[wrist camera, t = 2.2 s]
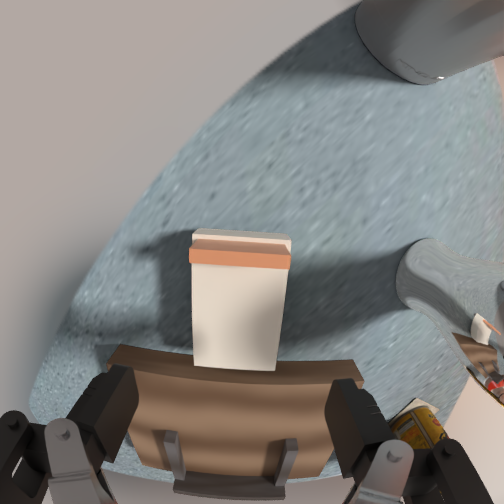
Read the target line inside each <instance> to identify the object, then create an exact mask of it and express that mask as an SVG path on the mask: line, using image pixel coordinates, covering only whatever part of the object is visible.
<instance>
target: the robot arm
mask: <svg viewBox="0 0 504 504" xmlns="http://www.w3.org/2000/svg"><path fill="white" fill-rule="evenodd" d="M355 25H356V28H357V31H358V34H359V35H360V37H361V39H362V41H363V43H364V44H365V45H366V47H367V48H368V49H369V51H370V52H371V53H372V54H373V55H374V56H375V57H376V58H377V60H378V61H379V62H380V63H382V64H383V65H384V66H385V67H386V68H388V69H389V70H390V71H392V72H393V73H395V74H396V75H398V76H399V77H401V78H403V79H406V80H408V81H410V82H413V83H417V84H423V85H429V84H433V83H436V82H438V81H441V80H443V79H445V78H447V77H450V76H452V75H454V74H457V73H459V72H462V71H465V70H467V69H469V68H472V67H474V66H477V65H479V64H482V63H485V62H487V61H490V60H493V59H495V58H498V57H501V56H504V0H363V1H362V2H361V4H360V5H359V7H358V8H357V10H356V14H355ZM138 404H139V392H138V388H137V384H136V379H135V374H134V370H133V368H132V367H131V366H126V365H121V364H116V363H115V364H113V365H112V366H111V368H110V369H109V371H108V372H107V373H103V372H102V373H101V374H99V375H98V376H96V377H94V378H93V379H92V381H91V382H90V383H89V385H88V386H87V388H86V389H85V391H84V392H83V395H81V396H80V398H79V399H78V401H77V402H76V403H75V405H74V406H73V408H72V409H71V411H70V412H69V414H68V415H67V417H66V418H58V419H54V420H52V421H51V422H49V423H48V424H47V425H41V424H35V423H29V421H28V419H27V418H26V416H25V415H24V414H23V413H22V412H19V411H14V410H13V411H9V412H6V413H5V414H4V415H3V416H2V417H1V418H0V504H42V501H43V499H44V496H45V494H46V491H47V489H48V487H49V489H50V493H51V497H52V500H53V503H54V504H118V503H117V501H116V499H115V497H114V495H113V493H112V491H111V488H110V486H109V484H108V482H107V480H106V477H105V475H104V472H103V470H102V468H101V465H102V463H103V461H107V462H110V463H114V461H115V458H116V456H117V453H118V451H119V449H120V446H121V444H122V442H123V439H124V437H125V435H126V432H127V430H128V428H129V425H130V423H131V421H132V418H133V416H134V414H135V412H136V409H137V407H138ZM324 415H325V420H326V423H327V427H328V430H329V433H330V436H331V440H332V443H333V446H334V449H335V453H336V456H337V459H338V462H339V466H340V469H341V472H342V476H343V478H349V477H353V478H354V481H355V483H354V484H353V486H352V487H351V489H350V491H349V493H348V494H347V496H346V498H345V500H344V501H343V503H342V504H403V502H400V498H401V496H403V499H404V502H405V504H494V503H493V501H492V499H491V497H490V495H489V493H488V491H487V489H486V488H485V486H484V484H483V482H482V480H481V479H480V477H479V475H478V473H477V471H476V469H475V468H474V466H473V464H472V463H471V461H470V459H469V457H468V455H467V454H466V452H465V450H464V449H463V447H462V446H461V444H460V443H459V442H457V441H456V440H454V439H450V438H445V439H441V440H439V441H438V442H437V443H436V444H435V445H434V447H433V448H427V449H412V448H411V446H410V445H409V444H407V443H406V442H404V441H401V440H396V438H395V437H394V435H393V433H392V431H391V429H390V427H389V425H388V424H387V422H386V420H385V418H384V416H383V414H381V411H380V409H379V407H378V406H377V403H376V401H375V400H374V398H373V396H372V395H371V394H370V393H368V392H367V391H366V390H365V389H358V387H357V385H356V383H355V381H354V380H353V379H352V378H347V379H335V380H333V382H332V385H331V388H330V391H329V395H328V398H327V401H326V404H325V409H324ZM21 457H22V461H21V462H20V464H19V466H18V468H17V470H16V472H15V474H14V476H13V478H12V472H13V470H14V469H15V467H16V465H17V463H18V461H19V459H20V458H21ZM438 488H439V489H438ZM439 490H440V491H439ZM440 492H441V493H440ZM442 497H443V498H442ZM443 499H444V500H443Z"/></svg>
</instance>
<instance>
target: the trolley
mask: <svg viewBox="0 0 504 504" xmlns="http://www.w3.org/2000/svg"><path fill="white" fill-rule="evenodd" d="M290 250H291V239H290V238H289V236H288V235H287V234H281V233H267V232H253V231H238V230H222V229H205V228H198V229H197V230H196V231H195V232H194V233H193V234H192V246H191V247H190V248H189V263H192V329H193V355H194V366H203V367H214V368H225V369H240V370H260V371H275V367H276V360H277V353H278V347H279V339H280V332H281V325H282V317H283V310H284V302H285V294H286V286H287V277H288V270H290V262H291V254H290Z"/></svg>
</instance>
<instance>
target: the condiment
mask: <svg viewBox="0 0 504 504" xmlns="http://www.w3.org/2000/svg"><path fill="white" fill-rule="evenodd" d="M437 411H439V409H438V408H436V407H434V406H432V405H430V404H428V403H426V402H424V401H422V400H420V399H418V398H416V399H415V400H414V401H413V402H412V403H411V404H409V405H408V406H407V407H406V408H405V409H404V410H403V411H402V412H400V413H399V414H398V415H397V416H396V417H395V418H394V419H393V420H392V421H391V422H390V423H388V425H389V427H390V429H391V431H392V433H393V435H394V437H395V438H396V440H401V441H404V442H406V443H407V444H409V445H410V446H411V448H412V449H427V448H433V447H434V445H435V444H436V443H437V442H438V441H439V440H441V439H445V438H449V437H448V435H447V433H446V432H445V430H444V429H443V427H442V426H441V424H440V423H439V421H438V420H437V419H436V417H435V416H434V414H435V413H436V412H437ZM438 489H439V488H438ZM439 491H440V490H439ZM440 493H441V492H440Z"/></svg>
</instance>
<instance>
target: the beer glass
mask: <svg viewBox="0 0 504 504" xmlns="http://www.w3.org/2000/svg"><path fill="white" fill-rule="evenodd" d="M395 283H396V291H397V294H398V297H399V298H400V300H401V301H402V303H403V304H405V305H406V306H407V307H409V308H411V309H413V310H415V311H418V312H420V313H422V314H424V315H425V316H427V317H428V318H429V319H430V320H431V321H432V322H433V323H434V325H435V326H436V327H437V329H438V330H439V332H440V333H441V335H442V336H443V338H444V339H445V341H446V342H447V344H448V345H449V347H450V348H451V350H452V351H453V353H454V354H455V356H456V357H457V359H458V360H459V362H460V363H461V364H462V366H463V367H464V369H465V370H466V371H467V372H468V374H469V375H470V376H471V377H472V378H473V379H474V380H475V382H476V383H477V384H478V385H479V386H480V387H481V388H482V389H483V390H484V391H485V392H486V393H487V394H488V395H489V396H490V397H491V398H492V399H493V400H494V401H496V402H497V403H498V404H499V405H500V406H501V407H502V408H503V409H504V263H502V262H496V261H490V260H483V259H476V258H470V257H466V256H463V255H460V254H458V253H456V252H454V251H453V250H452V249H450V248H449V247H448V246H446V245H445V244H444V243H442V242H441V241H439V240H437V239H432V238H427V239H422V240H420V241H418V242H416V243H415V244H413V245H412V246H411V247H410V248H409V249H408V250H407V251H406V253H405V254H404V256H403V257H402V259H401V261H400V263H399V266H398V269H397V273H396V281H395Z"/></svg>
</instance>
